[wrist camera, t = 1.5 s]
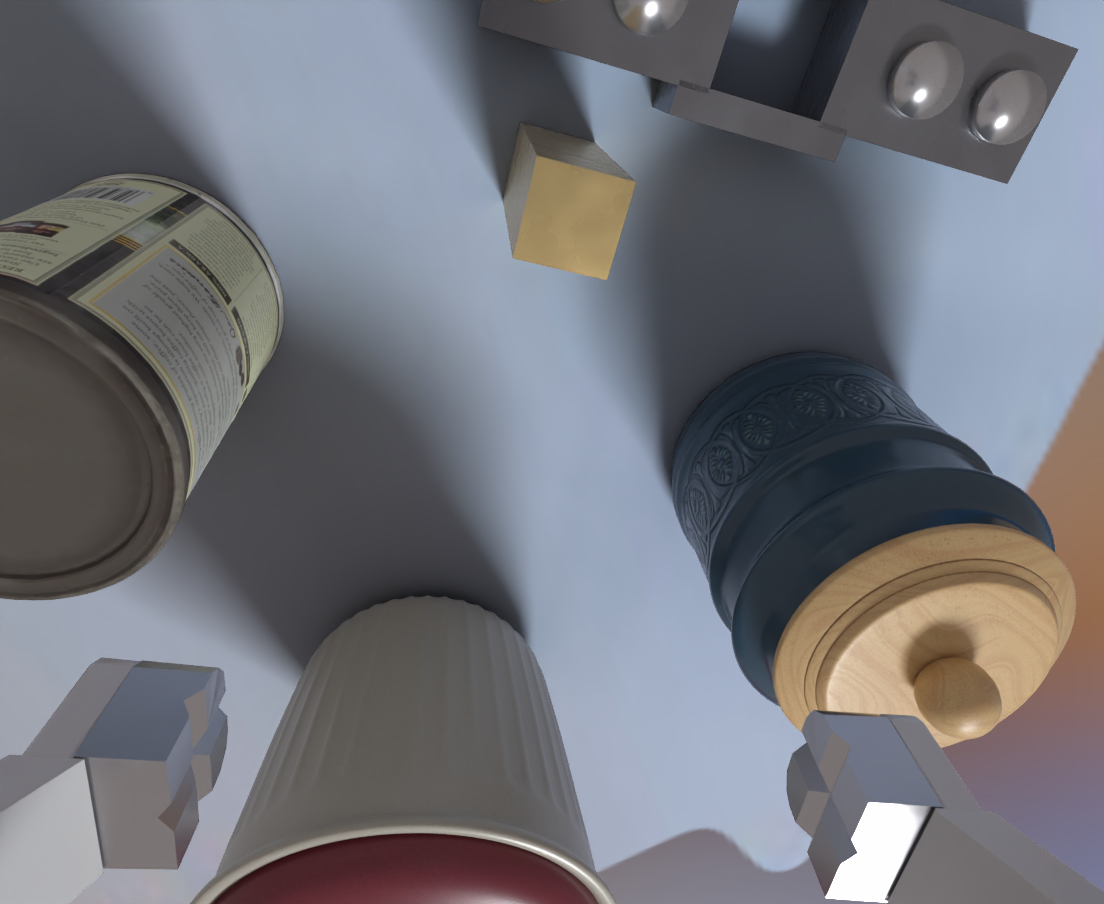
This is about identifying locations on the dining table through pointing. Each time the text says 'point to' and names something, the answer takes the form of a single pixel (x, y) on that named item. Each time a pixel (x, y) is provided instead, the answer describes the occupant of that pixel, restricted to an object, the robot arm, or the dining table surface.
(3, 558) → the coffee can
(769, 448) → the canister
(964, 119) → the silver studded bar
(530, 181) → the gold rectangular block
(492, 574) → the dining table surface
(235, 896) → the canister
